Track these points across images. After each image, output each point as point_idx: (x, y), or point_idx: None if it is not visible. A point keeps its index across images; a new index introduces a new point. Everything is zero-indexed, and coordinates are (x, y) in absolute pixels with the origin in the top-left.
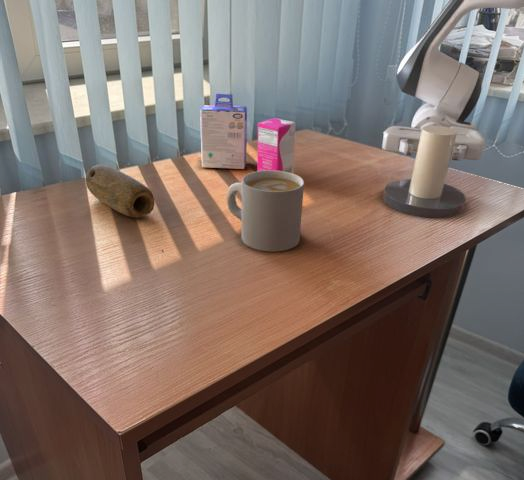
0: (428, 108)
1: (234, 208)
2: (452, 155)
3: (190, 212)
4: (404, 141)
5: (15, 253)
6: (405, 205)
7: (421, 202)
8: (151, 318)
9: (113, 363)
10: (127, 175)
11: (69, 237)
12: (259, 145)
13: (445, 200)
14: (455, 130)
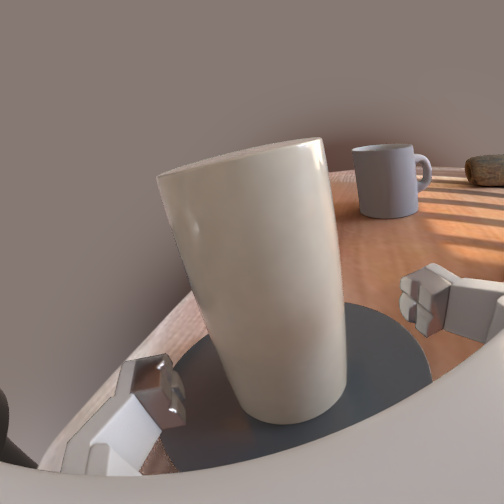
0: None
1: (422, 179)
2: (180, 414)
3: (474, 198)
4: (493, 287)
5: (449, 168)
6: None
7: None
8: (352, 178)
9: (336, 174)
10: (493, 157)
11: (459, 174)
12: None
13: (218, 367)
14: (161, 175)
